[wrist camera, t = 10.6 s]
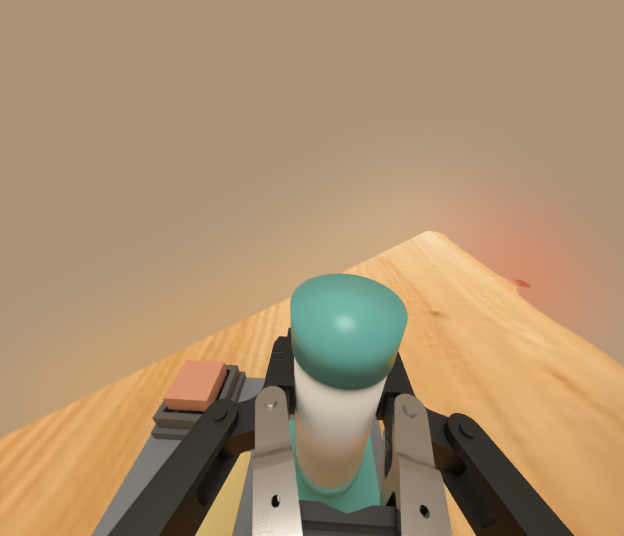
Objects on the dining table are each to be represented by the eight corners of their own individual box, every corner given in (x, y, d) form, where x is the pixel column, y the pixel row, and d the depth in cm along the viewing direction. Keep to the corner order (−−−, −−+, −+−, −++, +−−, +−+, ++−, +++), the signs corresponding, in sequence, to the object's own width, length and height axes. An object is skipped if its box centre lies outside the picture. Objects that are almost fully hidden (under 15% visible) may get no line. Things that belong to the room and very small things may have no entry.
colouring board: (369, 390, 24) (374, 369, 22) (411, 611, 13) (429, 603, 11) (189, 379, 24) (180, 359, 23) (73, 583, 13) (39, 571, 11)
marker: (355, 419, 16) (389, 275, 10) (366, 502, 12) (428, 351, 6) (297, 416, 16) (296, 271, 10) (289, 497, 12) (281, 343, 6)
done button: (226, 372, 22) (224, 362, 21) (210, 411, 18) (206, 400, 18) (191, 370, 22) (187, 360, 21) (168, 409, 19) (162, 398, 18)
